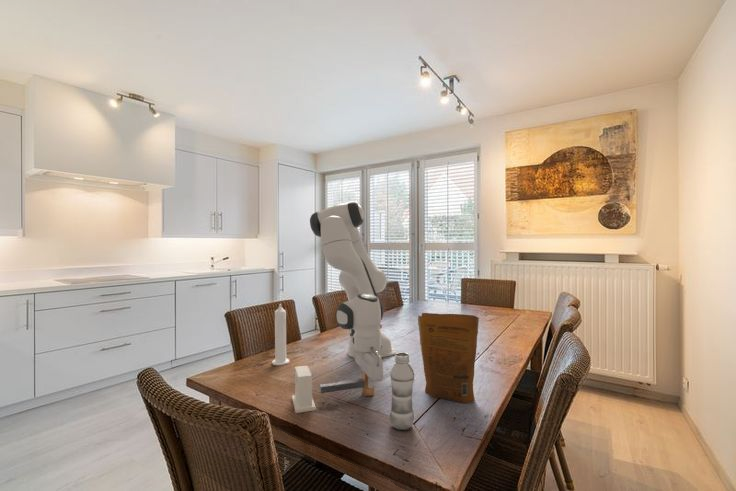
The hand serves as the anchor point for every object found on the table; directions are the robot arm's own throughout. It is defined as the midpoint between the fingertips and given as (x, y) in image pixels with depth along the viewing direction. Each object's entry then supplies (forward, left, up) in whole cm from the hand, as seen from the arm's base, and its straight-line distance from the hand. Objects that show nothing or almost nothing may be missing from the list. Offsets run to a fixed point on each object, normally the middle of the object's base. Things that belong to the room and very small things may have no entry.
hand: (367, 384), depth 116 cm
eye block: (+21, 0, -3) cm, 22 cm away
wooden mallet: (+7, 0, -3) cm, 8 cm away
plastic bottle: (-3, +22, -4) cm, 22 cm away
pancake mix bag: (-24, +11, -4) cm, 27 cm away
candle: (+25, -40, -4) cm, 48 cm away
